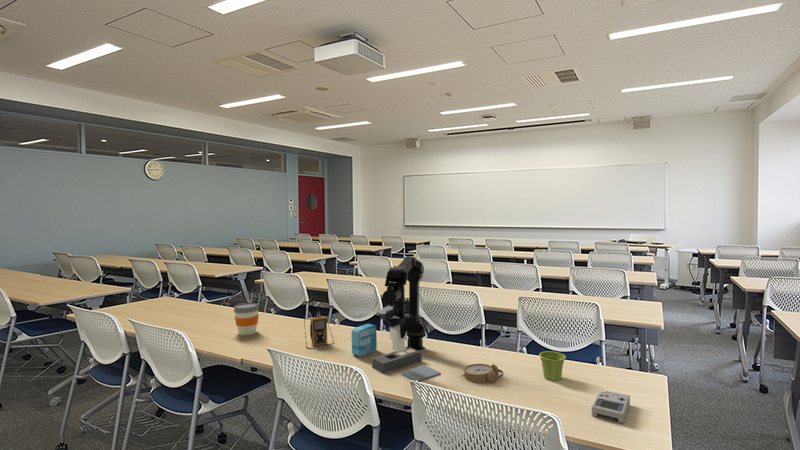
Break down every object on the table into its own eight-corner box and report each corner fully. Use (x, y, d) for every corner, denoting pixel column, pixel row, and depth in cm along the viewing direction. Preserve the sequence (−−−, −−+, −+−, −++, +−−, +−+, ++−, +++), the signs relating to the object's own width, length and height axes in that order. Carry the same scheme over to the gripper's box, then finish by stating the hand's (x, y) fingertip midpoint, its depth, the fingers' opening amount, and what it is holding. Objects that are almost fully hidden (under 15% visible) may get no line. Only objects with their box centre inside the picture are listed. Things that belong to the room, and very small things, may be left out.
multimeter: (309, 352, 192) (308, 309, 191) (304, 345, 201) (302, 304, 200) (339, 346, 199) (338, 305, 198) (333, 340, 208) (332, 301, 207)
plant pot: (536, 372, 163) (536, 351, 163) (560, 372, 163) (560, 350, 163) (543, 383, 154) (543, 360, 154) (569, 383, 154) (569, 359, 153)
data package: (359, 357, 184) (358, 330, 184) (351, 355, 187) (351, 329, 186) (377, 349, 194) (376, 324, 193) (369, 347, 196) (369, 322, 196)
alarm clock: (466, 363, 168) (503, 360, 162) (468, 375, 168) (506, 373, 162) (460, 373, 158) (499, 371, 152) (462, 386, 157) (502, 385, 152)
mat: (424, 366, 172) (424, 365, 172) (440, 373, 164) (440, 372, 164) (401, 374, 165) (401, 372, 165) (417, 382, 157) (417, 380, 157)
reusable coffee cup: (264, 331, 226) (263, 304, 225) (245, 337, 216) (243, 309, 215) (249, 328, 233) (248, 301, 232) (229, 334, 222) (228, 306, 222)
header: (410, 356, 185) (409, 346, 184) (421, 361, 178) (421, 351, 178) (372, 367, 172) (372, 357, 172) (383, 373, 166) (383, 363, 166)
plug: (400, 346, 174) (399, 325, 174) (407, 350, 170) (406, 327, 170) (390, 349, 171) (389, 327, 171) (397, 352, 167) (396, 330, 167)
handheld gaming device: (630, 406, 136) (630, 394, 136) (623, 425, 124) (623, 413, 124) (600, 399, 141) (600, 388, 141) (591, 418, 130) (591, 406, 129)
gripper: (368, 298, 172) (369, 335, 173) (394, 306, 157) (395, 347, 158) (390, 294, 179) (391, 330, 180) (417, 301, 164) (418, 341, 165)
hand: (398, 336), depth 170 cm, fingers closed on plug, 5 cm apart
